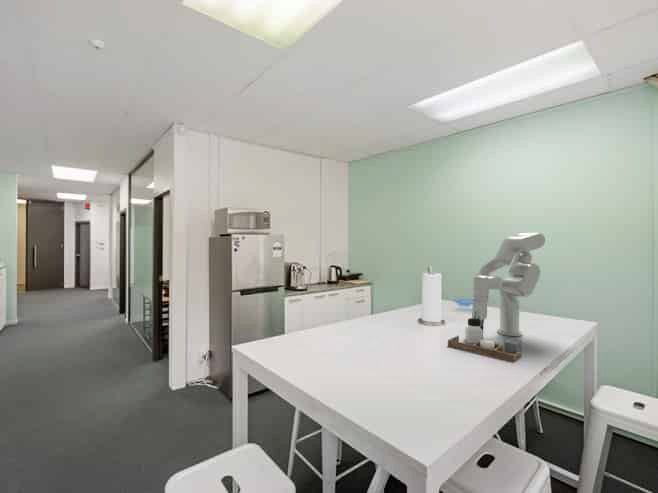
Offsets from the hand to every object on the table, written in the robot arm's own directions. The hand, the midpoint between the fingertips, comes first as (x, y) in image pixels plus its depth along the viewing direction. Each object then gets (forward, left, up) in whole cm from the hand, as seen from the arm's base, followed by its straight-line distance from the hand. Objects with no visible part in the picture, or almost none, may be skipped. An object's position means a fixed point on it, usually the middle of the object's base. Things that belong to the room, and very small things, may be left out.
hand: (479, 332), depth 172 cm
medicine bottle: (+9, 0, -3) cm, 9 cm away
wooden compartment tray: (+20, +9, -3) cm, 22 cm away
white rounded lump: (+20, +11, -3) cm, 23 cm away
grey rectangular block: (+11, +19, -3) cm, 23 cm away
